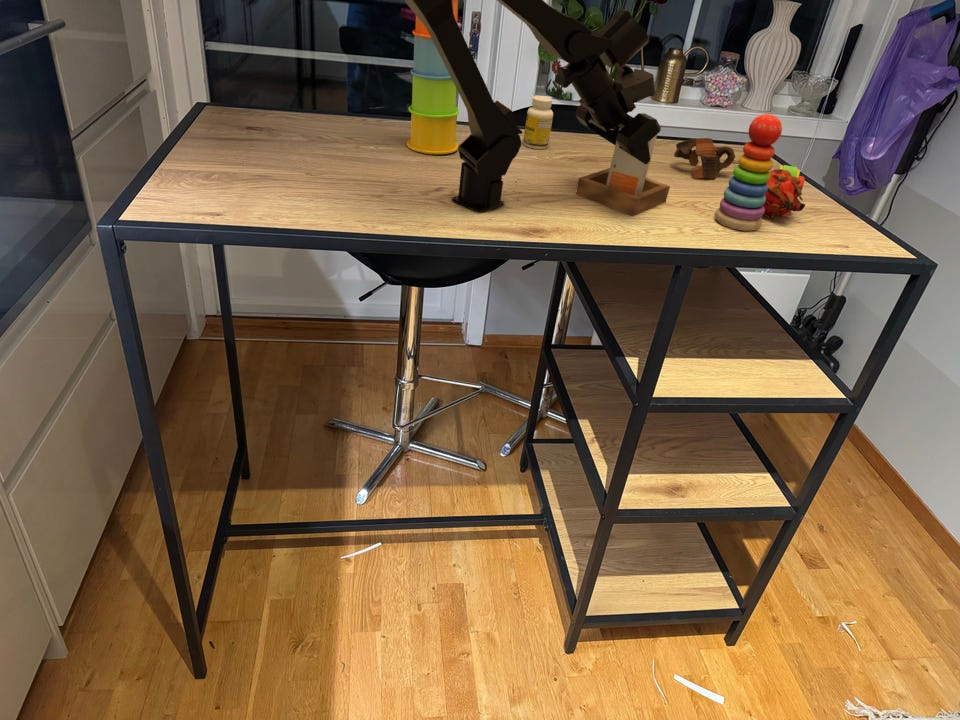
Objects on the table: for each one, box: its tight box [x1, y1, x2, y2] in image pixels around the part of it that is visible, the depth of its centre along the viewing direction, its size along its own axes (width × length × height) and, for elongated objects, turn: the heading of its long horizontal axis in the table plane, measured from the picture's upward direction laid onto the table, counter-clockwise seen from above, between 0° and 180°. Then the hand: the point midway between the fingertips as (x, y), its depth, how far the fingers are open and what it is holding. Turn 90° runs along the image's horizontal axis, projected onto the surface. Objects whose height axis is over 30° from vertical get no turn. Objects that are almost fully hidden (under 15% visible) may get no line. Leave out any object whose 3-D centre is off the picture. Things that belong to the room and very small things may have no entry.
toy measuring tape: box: [777, 164, 806, 192], centre depth 140 cm, size 6×20×7 cm, turn 159°
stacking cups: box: [406, 0, 460, 155], centre depth 131 cm, size 10×10×35 cm
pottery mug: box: [673, 137, 736, 180], centre depth 146 cm, size 12×10×8 cm
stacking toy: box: [714, 113, 783, 232], centre depth 119 cm, size 8×8×19 cm
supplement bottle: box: [522, 95, 554, 150], centre depth 147 cm, size 5×5×10 cm
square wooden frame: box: [575, 167, 671, 217], centre depth 130 cm, size 12×20×3 cm, turn 139°
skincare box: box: [606, 128, 658, 196], centre depth 125 cm, size 6×4×12 cm
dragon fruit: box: [763, 168, 806, 220], centre depth 129 cm, size 8×8×12 cm
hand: (636, 155), depth 125 cm, fingers closed on skincare box, 7 cm apart
